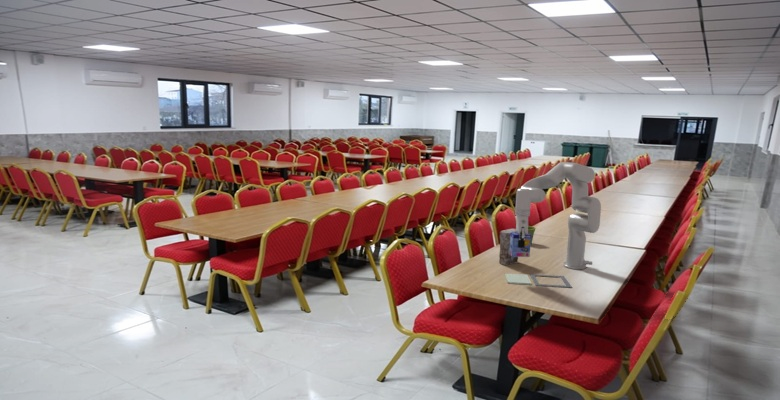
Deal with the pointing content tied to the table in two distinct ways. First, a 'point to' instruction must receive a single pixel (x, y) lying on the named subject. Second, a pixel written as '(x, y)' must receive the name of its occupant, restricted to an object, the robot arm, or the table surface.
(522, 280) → the sage board
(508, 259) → the stone block
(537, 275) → the marked spot frame
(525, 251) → the ink cartridge box
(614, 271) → the table surface
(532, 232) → the plant pot
